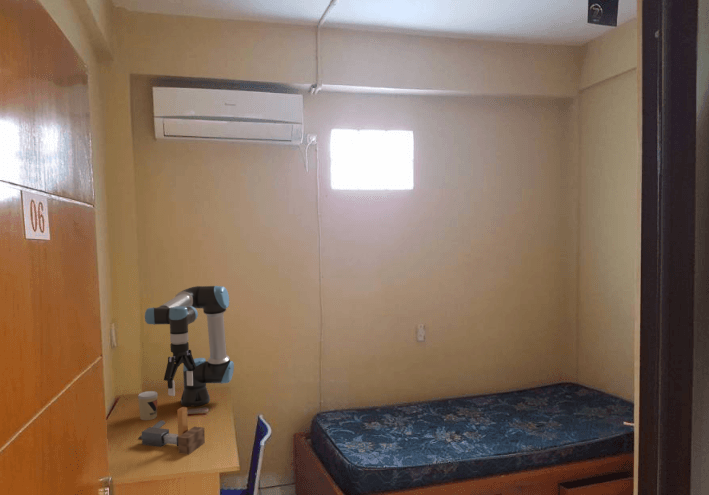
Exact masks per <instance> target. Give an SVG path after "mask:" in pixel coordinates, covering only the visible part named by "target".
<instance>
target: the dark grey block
mask: <svg viewBox="0 0 709 495" xmlns="http://www.w3.org/2000/svg"><path fill="white" fill-rule="evenodd" d="M165 433H170V429H169V428H163V427H160V428H154V427H153V426H150V427H148V428H146V429H144V430H143V431H141V435H142V439H141V445H143V446H149V447H150V446H151V447H158V448H163V447H164V446H166V445H167V443H162V435H163V434H165Z"/></svg>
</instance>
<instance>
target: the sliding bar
mask: <svg viewBox="0 0 709 495" xmlns="http://www.w3.org/2000/svg"><path fill="white" fill-rule="evenodd" d="M176 411H177V413H176V414H177V433H171V432H169V433H165V434H163V435H162V443H167V444H168V445H169V444H170V445H175V446H176V447H177V448H179V446H178V437H179V436H181V435H182V434H184V433H185V432H187V431H188V430H189V429H188V428H189V426H188V425H189V424H188V422H189V421H188V420H189V419H188V406H182V407H180V408H178V409H176ZM167 444H166V445H167Z"/></svg>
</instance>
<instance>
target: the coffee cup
mask: <svg viewBox="0 0 709 495" xmlns="http://www.w3.org/2000/svg"><path fill="white" fill-rule="evenodd" d="M158 395H159V394H158V392H157V391H155V390H154V391H153V390H149V391H142V392H140V393H139V394H138V395H137V399H138V400H137V401H138V410H139V411H138V412H139V418H140V420H142V421H149V420H154V419H156V418H157V416H158Z"/></svg>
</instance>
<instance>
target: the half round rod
mask: <svg viewBox="0 0 709 495" xmlns="http://www.w3.org/2000/svg"><path fill="white" fill-rule="evenodd" d="M163 425H166V422H165V421H164V420H159V421H158V422H156V423H155V424H154V425H152V427H154V428H162V427H163ZM138 440H142V434H141V435H140V436H139V437H138Z"/></svg>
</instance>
